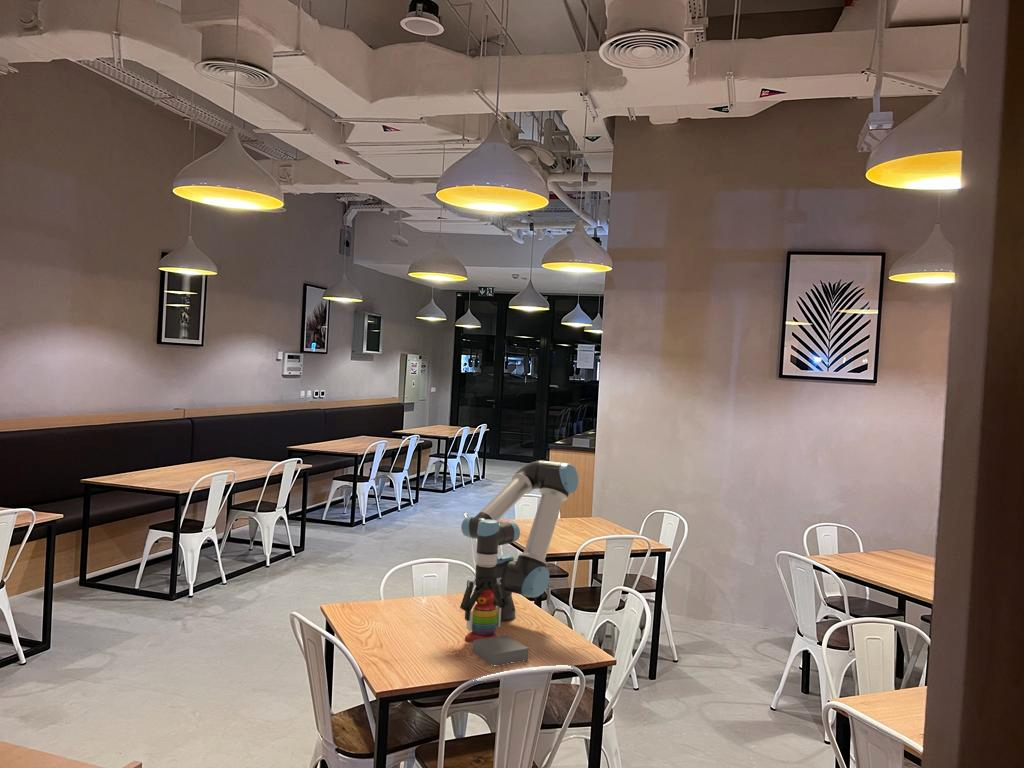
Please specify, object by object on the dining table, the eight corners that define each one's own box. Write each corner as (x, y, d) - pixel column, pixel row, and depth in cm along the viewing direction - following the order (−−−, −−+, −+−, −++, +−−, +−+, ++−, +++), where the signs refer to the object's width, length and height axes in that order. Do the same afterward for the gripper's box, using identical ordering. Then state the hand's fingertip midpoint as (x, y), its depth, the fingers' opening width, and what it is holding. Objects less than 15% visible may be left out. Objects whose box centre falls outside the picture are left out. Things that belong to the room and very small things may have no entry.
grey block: (506, 646, 247) (506, 634, 247) (528, 660, 235) (528, 648, 235) (472, 652, 240) (473, 640, 240) (493, 666, 228) (494, 653, 228)
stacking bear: (463, 640, 251) (465, 589, 251) (474, 632, 260) (476, 582, 260) (491, 646, 247) (494, 593, 247) (502, 637, 256) (504, 586, 257)
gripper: (509, 559, 263) (506, 620, 263) (452, 564, 251) (449, 628, 251) (520, 564, 257) (517, 626, 256) (462, 569, 245) (458, 635, 244)
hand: (483, 627), depth 253 cm, fingers open, 11 cm apart
